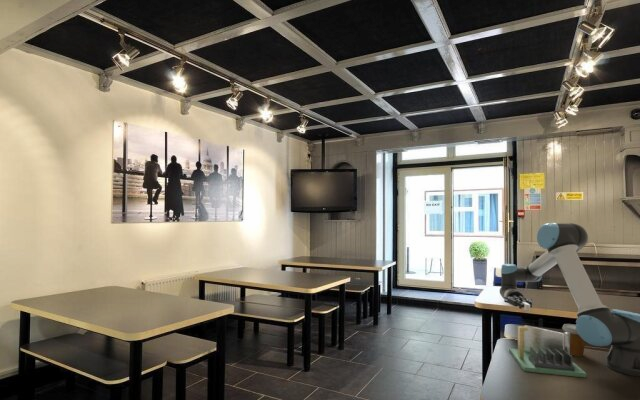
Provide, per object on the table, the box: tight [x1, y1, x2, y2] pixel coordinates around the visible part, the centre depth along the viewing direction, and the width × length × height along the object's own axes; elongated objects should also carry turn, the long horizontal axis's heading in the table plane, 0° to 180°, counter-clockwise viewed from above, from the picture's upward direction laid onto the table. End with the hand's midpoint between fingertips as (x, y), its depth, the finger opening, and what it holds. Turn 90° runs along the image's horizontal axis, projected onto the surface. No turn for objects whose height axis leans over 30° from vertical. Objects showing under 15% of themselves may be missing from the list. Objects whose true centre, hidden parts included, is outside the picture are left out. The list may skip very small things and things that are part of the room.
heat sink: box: [517, 325, 574, 371], centre depth 154 cm, size 19×11×13 cm, turn 77°
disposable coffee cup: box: [561, 323, 586, 357], centre depth 170 cm, size 10×10×12 cm
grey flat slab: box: [523, 324, 564, 354], centre depth 162 cm, size 15×2×11 cm, turn 42°
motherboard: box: [508, 348, 587, 378], centre depth 158 cm, size 22×22×2 cm
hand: (528, 307), depth 171 cm, fingers closed
